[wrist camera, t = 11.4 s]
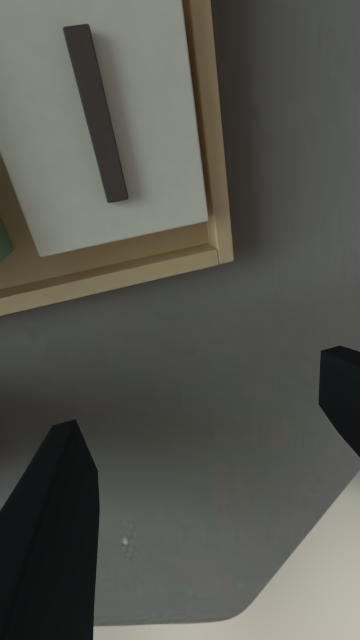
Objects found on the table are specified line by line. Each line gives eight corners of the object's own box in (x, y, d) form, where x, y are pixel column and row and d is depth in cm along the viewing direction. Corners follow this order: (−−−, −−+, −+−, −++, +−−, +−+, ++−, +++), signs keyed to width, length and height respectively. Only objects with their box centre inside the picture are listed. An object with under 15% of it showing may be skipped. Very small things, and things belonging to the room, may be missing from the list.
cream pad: (49, 244, 14) (36, 261, 12) (-32, 18, 11) (-77, -33, 8) (194, 214, 15) (213, 223, 13) (163, -7, 12) (181, -60, 9)
